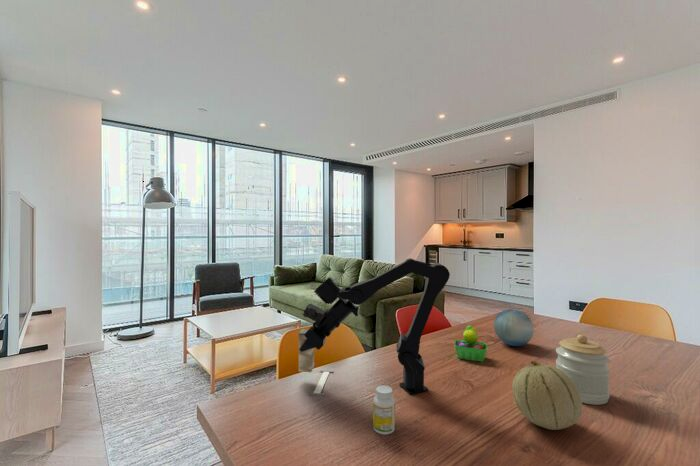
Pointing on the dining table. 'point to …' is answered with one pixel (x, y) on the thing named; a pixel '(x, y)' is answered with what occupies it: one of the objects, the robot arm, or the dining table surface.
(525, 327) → the decorative ball
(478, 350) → the fruit basket
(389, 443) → the dining table surface
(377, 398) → the supplement bottle
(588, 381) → the jar
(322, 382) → the tape line
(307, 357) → the beige tall block
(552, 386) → the cantaloupe
